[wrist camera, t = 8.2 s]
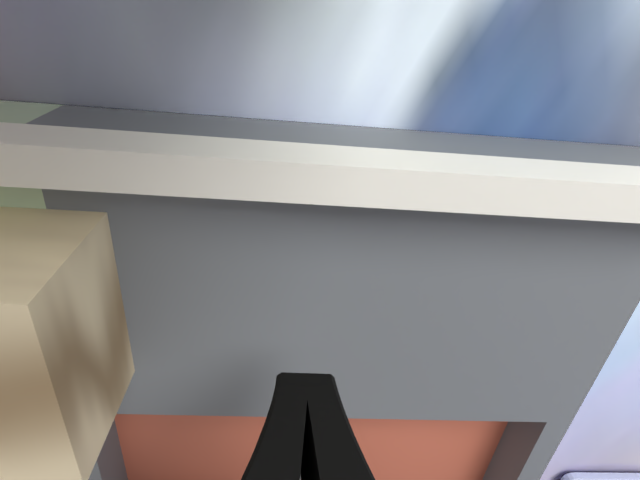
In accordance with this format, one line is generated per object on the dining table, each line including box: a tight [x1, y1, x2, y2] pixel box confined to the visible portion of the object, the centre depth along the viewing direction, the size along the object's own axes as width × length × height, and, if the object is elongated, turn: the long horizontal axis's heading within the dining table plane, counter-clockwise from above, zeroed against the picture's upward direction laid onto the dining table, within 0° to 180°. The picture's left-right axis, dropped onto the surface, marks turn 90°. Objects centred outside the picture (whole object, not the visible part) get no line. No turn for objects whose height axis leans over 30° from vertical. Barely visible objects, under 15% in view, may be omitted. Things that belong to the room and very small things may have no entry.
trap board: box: [0, 100, 640, 480], centre depth 16 cm, size 20×24×4 cm
